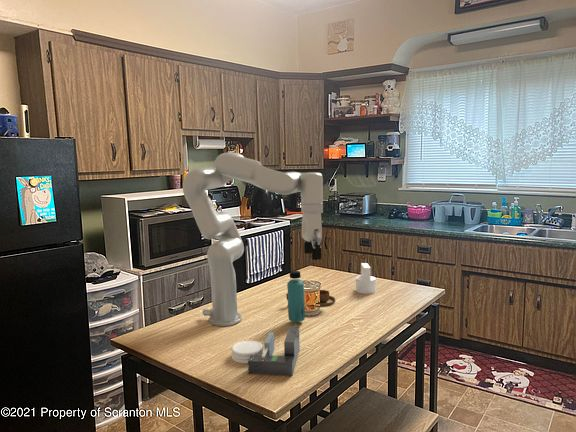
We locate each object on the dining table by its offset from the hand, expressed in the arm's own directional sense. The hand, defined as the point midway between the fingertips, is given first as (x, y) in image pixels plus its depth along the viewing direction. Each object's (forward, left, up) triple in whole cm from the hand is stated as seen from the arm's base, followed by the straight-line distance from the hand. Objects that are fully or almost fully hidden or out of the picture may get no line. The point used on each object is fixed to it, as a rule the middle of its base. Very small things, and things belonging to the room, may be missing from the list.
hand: (312, 256), depth 153 cm
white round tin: (-19, -22, -28) cm, 41 cm away
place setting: (-4, +31, -28) cm, 42 cm away
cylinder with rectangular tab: (+20, +48, -28) cm, 59 cm away
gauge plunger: (-12, -25, -27) cm, 38 cm away
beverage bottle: (-7, +7, -28) cm, 30 cm away
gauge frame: (-10, -25, -28) cm, 38 cm away
